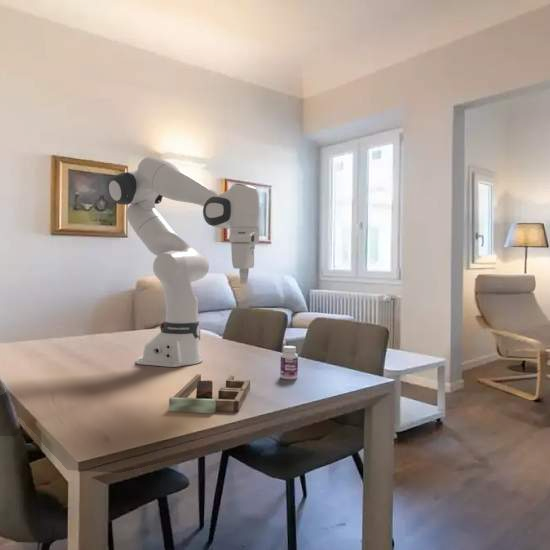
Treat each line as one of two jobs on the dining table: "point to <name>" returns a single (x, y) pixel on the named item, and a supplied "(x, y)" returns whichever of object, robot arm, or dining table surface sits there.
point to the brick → (204, 390)
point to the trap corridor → (226, 401)
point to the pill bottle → (289, 363)
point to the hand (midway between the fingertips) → (243, 283)
